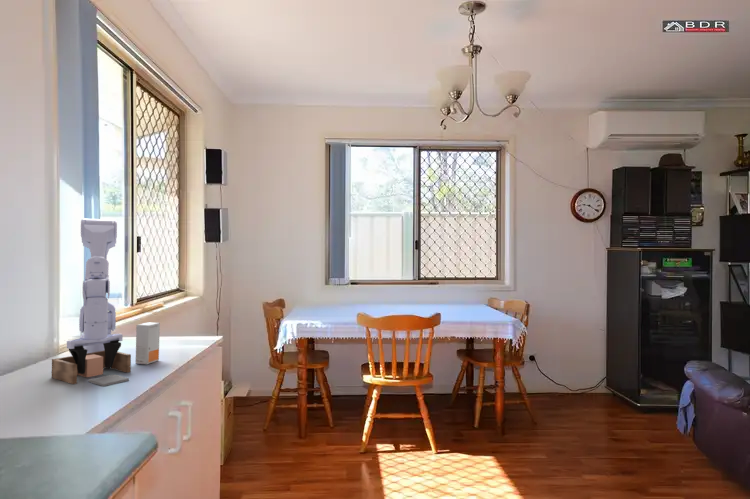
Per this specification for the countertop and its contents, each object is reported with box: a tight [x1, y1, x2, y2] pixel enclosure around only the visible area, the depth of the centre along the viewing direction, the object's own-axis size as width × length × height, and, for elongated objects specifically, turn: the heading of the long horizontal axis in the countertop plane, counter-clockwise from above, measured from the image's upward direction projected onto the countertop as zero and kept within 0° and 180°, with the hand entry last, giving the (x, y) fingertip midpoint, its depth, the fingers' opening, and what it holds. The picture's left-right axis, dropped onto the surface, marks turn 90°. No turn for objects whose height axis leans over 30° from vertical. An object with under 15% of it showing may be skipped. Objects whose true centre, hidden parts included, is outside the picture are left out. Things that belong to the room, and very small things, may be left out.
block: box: [77, 354, 104, 378], centre depth 145 cm, size 5×4×5 cm
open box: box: [51, 350, 132, 385], centre depth 144 cm, size 11×16×5 cm
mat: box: [88, 373, 130, 387], centre depth 138 cm, size 7×7×1 cm
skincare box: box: [135, 321, 161, 365], centre depth 160 cm, size 6×4×12 cm
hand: (95, 370), depth 143 cm, fingers open, 7 cm apart
